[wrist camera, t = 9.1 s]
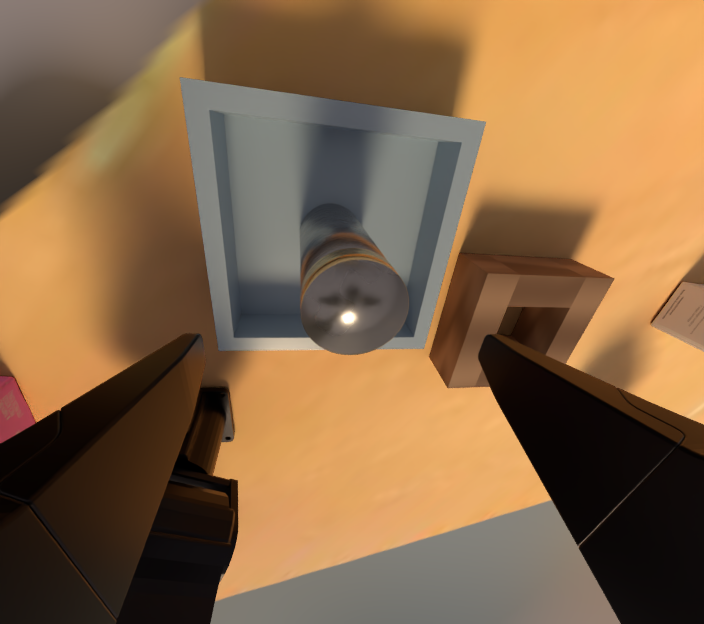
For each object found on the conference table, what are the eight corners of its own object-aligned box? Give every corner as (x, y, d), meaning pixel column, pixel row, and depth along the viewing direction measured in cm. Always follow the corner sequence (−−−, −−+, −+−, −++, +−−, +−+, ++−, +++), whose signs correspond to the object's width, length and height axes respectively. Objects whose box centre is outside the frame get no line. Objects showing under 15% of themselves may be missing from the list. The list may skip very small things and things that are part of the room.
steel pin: (357, 265, 21) (398, 354, 12) (298, 263, 20) (299, 355, 12) (364, 205, 19) (419, 261, 10) (299, 200, 18) (301, 256, 10)
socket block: (524, 355, 29) (553, 384, 26) (429, 357, 28) (447, 388, 24) (570, 259, 25) (614, 278, 21) (459, 252, 23) (487, 273, 19)
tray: (406, 320, 25) (424, 348, 22) (230, 318, 23) (218, 350, 19) (451, 124, 18) (486, 121, 15) (205, 90, 16) (179, 77, 12)
